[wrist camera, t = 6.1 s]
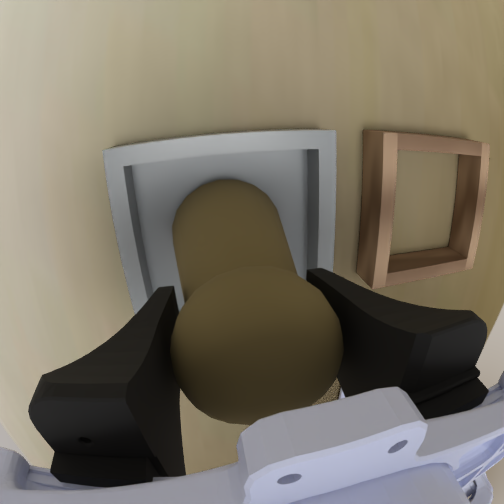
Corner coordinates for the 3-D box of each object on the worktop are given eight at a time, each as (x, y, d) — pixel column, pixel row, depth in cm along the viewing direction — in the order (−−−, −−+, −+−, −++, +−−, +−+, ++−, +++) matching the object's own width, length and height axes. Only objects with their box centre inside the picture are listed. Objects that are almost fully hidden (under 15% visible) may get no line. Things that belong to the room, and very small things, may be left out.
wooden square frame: (454, 256, 24) (472, 268, 21) (356, 272, 22) (372, 289, 20) (467, 139, 20) (489, 144, 17) (362, 129, 18) (383, 132, 16)
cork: (154, 256, 17) (126, 426, 8) (202, 159, 16) (215, 258, 6) (247, 294, 20) (295, 455, 10) (300, 209, 18) (412, 338, 8)
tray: (316, 302, 23) (328, 322, 20) (148, 323, 21) (144, 346, 19) (319, 128, 18) (335, 130, 16) (114, 146, 16) (102, 150, 14)
